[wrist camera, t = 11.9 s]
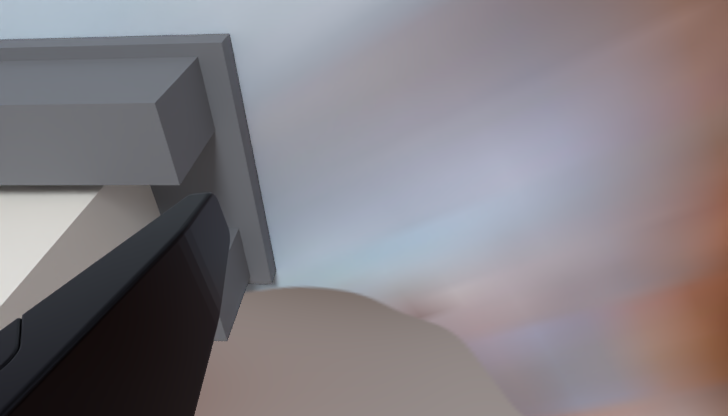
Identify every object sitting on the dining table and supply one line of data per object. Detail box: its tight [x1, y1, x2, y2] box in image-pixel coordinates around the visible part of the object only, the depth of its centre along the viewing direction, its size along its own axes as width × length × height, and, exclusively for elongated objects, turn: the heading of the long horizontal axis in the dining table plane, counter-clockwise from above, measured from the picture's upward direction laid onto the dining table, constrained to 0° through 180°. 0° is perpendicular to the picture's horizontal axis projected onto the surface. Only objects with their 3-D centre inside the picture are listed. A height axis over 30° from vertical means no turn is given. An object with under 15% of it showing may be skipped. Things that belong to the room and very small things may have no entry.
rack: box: [0, 34, 276, 341], centre depth 22 cm, size 14×12×5 cm
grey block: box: [0, 185, 160, 330], centre depth 18 cm, size 5×4×12 cm
